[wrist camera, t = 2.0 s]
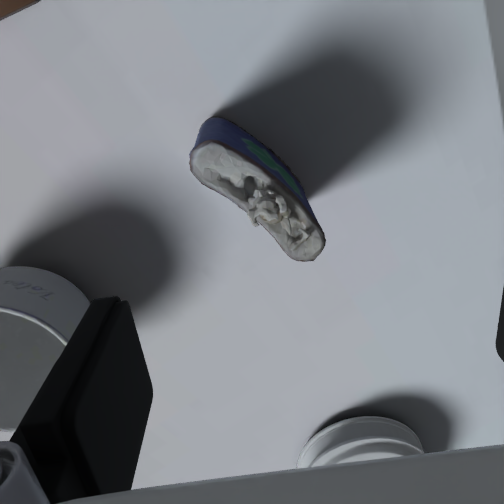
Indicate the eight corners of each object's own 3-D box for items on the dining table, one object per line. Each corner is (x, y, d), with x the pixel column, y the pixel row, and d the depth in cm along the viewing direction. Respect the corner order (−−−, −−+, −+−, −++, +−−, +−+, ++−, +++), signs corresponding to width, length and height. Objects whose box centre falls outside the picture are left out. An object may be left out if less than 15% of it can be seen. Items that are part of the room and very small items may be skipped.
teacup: (77, 234, 32) (32, 286, 25) (131, 346, 37) (107, 418, 29) (-91, 281, 33) (-181, 344, 26) (-18, 384, 38) (-77, 463, 30)
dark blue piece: (192, 136, 30) (175, 176, 20) (219, 102, 29) (215, 127, 19) (287, 218, 32) (313, 288, 23) (315, 189, 32) (354, 250, 22)
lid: (374, 508, 47) (390, 556, 43) (273, 477, 44) (278, 525, 40) (443, 431, 43) (469, 476, 38) (336, 392, 40) (350, 435, 35)
